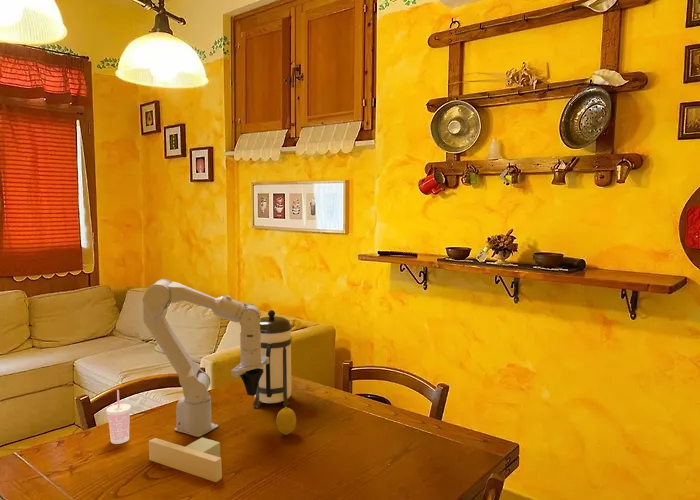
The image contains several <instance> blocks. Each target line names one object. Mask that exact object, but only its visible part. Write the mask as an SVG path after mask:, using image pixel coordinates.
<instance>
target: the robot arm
mask: <svg viewBox="0 0 700 500" xmlns="http://www.w3.org/2000/svg"><path fill="white" fill-rule="evenodd" d="M141 301H142V305H143V306H142V309H143V310H142V311H143V313H142V314H143V317H142V318H143V324H145V326H146V328H147V329H148V331H149V332H150V334H151V336H152V337H153V338H154V340H155V341H156V343H157V344H158V346H159V347H160V349H161V351H162V352H163V353H164V355H165V357H166V358H167V360H168V361H169V363H170V365H171V366H172V368H173V369H174V371H175V372H176V374H177V376H178V382H179V384H180V387H182V391H183V396H182V397H180V398H179V399H178V400H177V401H178V402H177V403H176V405H175V406H176V407H175V414H176V415H175V417H176V419H175V420H176V421H175V422H176V427H174V431H176V432H179V433H182V434H186V435H190V436H193V437H196V438H201V437H203V435H204V436H205V434H207V433H209V432H211V431H214V430H215V429H216V428H218V427H219V425H218V424H216V423H213V422H212V401H211V400H212V399H211V397H212V395H211V394H210V393H209V391H208V390H209V387H210V386H211V377H210V376H209V374H208V373H207V372H205V371H204V370H202V369H201V367H200V366H199V365H198V364H196V363H194V360H192V358H191V356H190V355H189V353H188V351H187V350H186V348H185V347H184V346H183V343H182V342H181V341H180V339H179V338H178V336H177V335H176V333H175V332H174V330H173V328H172V326H171V325H170V324H169V322H168V321H167V319H166V317H165V314H166V311H167V308H168V305H169V303H170V304H175V303H178V302H182V301H184V302H188V303H191V304H195V305H197V306H200V307H204V308H206V309H210V310H211V311H212V313H213V315H214V316H216V317H219V318H222V319H225V320H228V321H230V322H233V323H239V325H240V333H239V337H240V338H239V339H240V340H239V343H240V344H239V345H240V348H239V349H240V351H239V352H240V363H239V364H237V366H235V367H234V368H232V369H231V370H230V371H231V373H230V374H231V375H230V376H231V378H236V379H237V378H239V377H240V378H241V380H242V382H243V384H244V387H245V391H246V394H247V396H252V397H254V395H256V391H257V387H258V383H259V380H260V378H261V376H262V374H263V369H260V368H262V367H264V364H269V357H265V356H263V357H261V332H260V321H261V318H262V317H261V311H260V309H259V308H258V307H257V306H256V305H254V304H253V303H250V304H249V303H247V302H245V301H244V302H241V301H239V300H235V299H233V298H232V296H231V295H227V294H226V296H224V295H221V296H218V297H214V296H212V295H209V294H207V293H205V292H202V291H200V290H197V289H194V288H192V287H189V286H188V285H184V284H182V283H180V282H178V281H177V282H176V281H171V280H169V279H167V278H166V279H165V278H161V279H159V280H156V281H155V282H154V284H151V285H150V286H148V287H147V288H146V290H145V291H144V295H143V297H142V299H141Z"/></svg>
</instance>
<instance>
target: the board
mask: <svg viewBox="0 0 700 500" xmlns="http://www.w3.org/2000/svg"><path fill="white" fill-rule="evenodd" d="M148 456H149V461H151V462H153V463H157V464H160V465H163V466H167V467H168V468H169V467H170V468H172V469H175V470H178V471H181V472H185V473H187V474H190V475H193V476H196V477H199V478H202V479H205V480H208V481H210V482H214V483H217V482H219V481H220V480H222V479H223V471H222V469H223V468H222V467H223V466H222V463H223V462H222V457H221V456H220V457H217V456H213V455H210V454H207V453H204V452H200V451H197V450H194V449H190V448H187V447H185V446H183V445H181V444H177V443H173V442H170V441H167V440H164V439H161V438H157V437H154V438H152V439H149V440H148Z"/></svg>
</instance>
